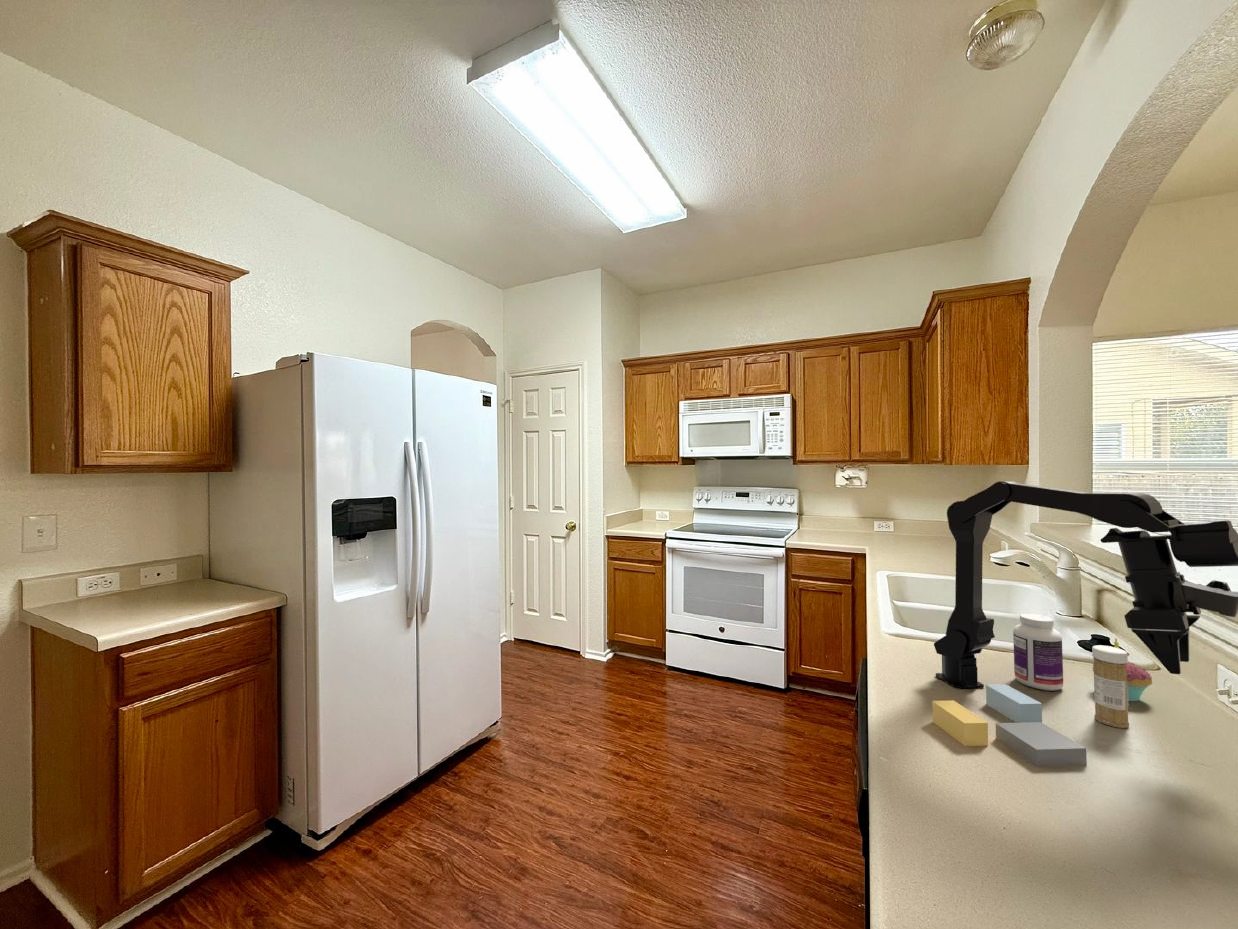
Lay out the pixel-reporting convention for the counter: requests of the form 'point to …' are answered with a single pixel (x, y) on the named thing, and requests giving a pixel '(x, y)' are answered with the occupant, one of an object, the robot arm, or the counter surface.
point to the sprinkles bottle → (1110, 686)
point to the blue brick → (1013, 704)
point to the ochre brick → (960, 723)
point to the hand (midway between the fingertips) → (1180, 667)
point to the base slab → (1041, 744)
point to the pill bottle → (1038, 653)
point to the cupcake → (1135, 679)
